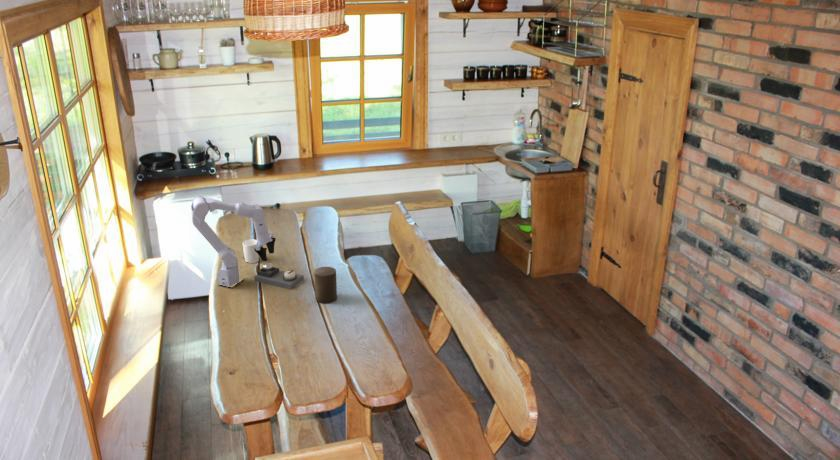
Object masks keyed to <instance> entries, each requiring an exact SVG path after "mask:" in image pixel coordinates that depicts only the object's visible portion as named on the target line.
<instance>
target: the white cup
mask: <svg viewBox="0 0 840 460" xmlns="http://www.w3.org/2000/svg"><path fill="white" fill-rule="evenodd" d="M256 244H257V239H252V238H251V239H245V240H244V241H242V250H243V256H244V261H246V262H249V263H248V264H256V263H258V262H259V261H260V256H259V255H258V253H257V252H255V250H254V249H255V246H256ZM246 262H245V263H246Z"/></svg>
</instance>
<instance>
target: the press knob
mask: <svg viewBox="0 0 840 460" xmlns="http://www.w3.org/2000/svg"><path fill="white" fill-rule="evenodd" d="M273 267H274V265H273V263H272V262H265V263H263V264H262V268H263V270H265V271H269V270H272V269H273Z"/></svg>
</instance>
